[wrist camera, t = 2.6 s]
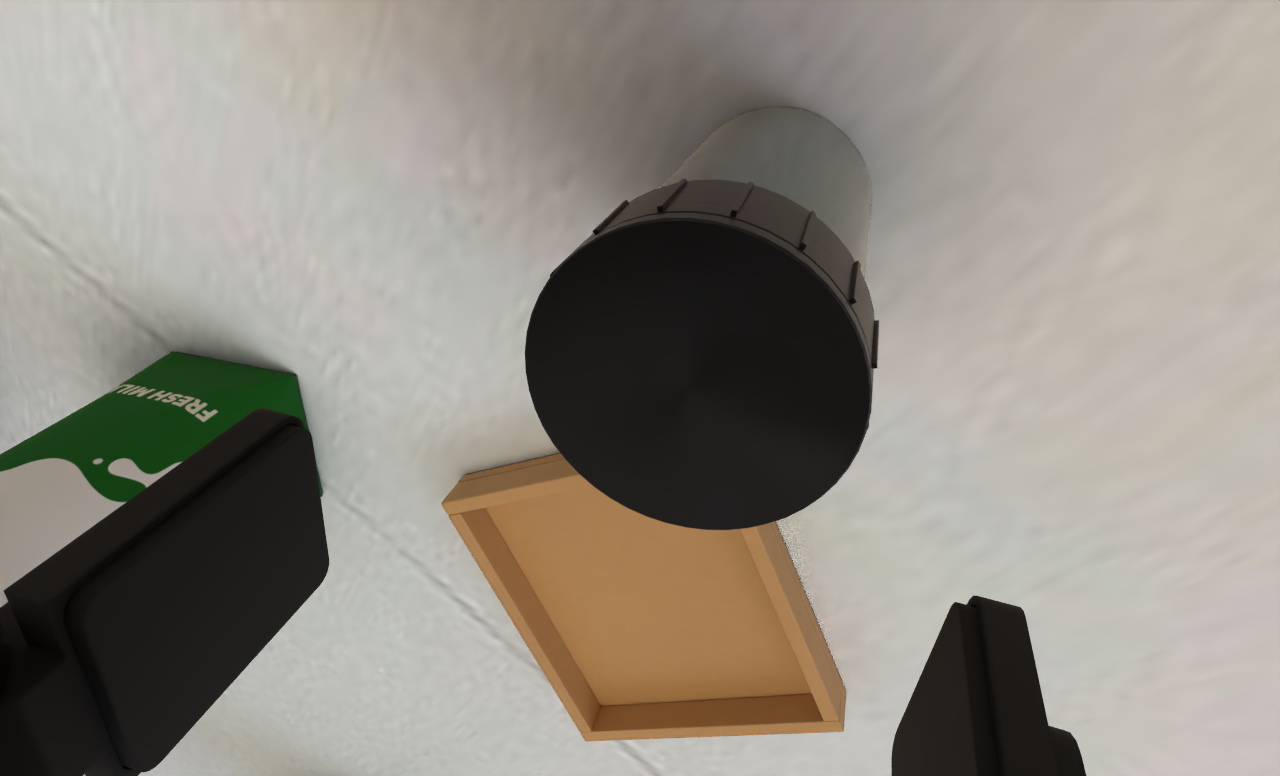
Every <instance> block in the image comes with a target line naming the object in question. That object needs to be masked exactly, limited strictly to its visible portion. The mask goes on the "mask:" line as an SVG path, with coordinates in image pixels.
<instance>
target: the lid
mask: <svg viewBox="0 0 1280 776" xmlns="http://www.w3.org/2000/svg"><path fill="white" fill-rule="evenodd" d="M860 267H861V264H860V262H859V260H858V261H856V262H855V260H854V258H853V256H852V255H851V253H850V252H849V250H848V249H847V248H846V247H845V245H844V244H843V243H842V241H841V240H840V239H839V238H838V236H837V235H836V234H835V233H834V232H833V231H832V230H831V229H830V228H829V227H828V226H827V225H826V224H825V223H824V222H823V221H821V220H820V219H819V218H818V217H816V213H815V212H814V211H813V210H812V211H811V212H809V211H808V210H807V209H805V208H804V207H803V206H801V205H799V204H797V203H795V202H794V201H792V200H790V199H788V198H786V197H785V196H783V195H780V194H778V193H775V192H772V191H770V190H767V189H765V188H762V187H758V186H754V182H750V181H749V182H748V184H746V183H742V182H736V181H727V180H719V179H716V180H692V181H687V179H686V178H685V179H681V180H680V181H679V182H678V183H674V184H671V185H667V186H664V187H661V188H657V189H655V190H652V191H650V192H648V193H646V194H644V195H641V196H639V197H637V198H636V199H634V200H632V201H631V202H628V201H627V200H625V201H624V202H623V203H622V204H621V205H619V206H618V207H617V208H616V209H615V210H614V211H613V212H612V213H611V214H610V215H609V216H608V217H607V218H606V219H605V220H604V221H603V222H602V223H601V224H599V225H598V226H597V227H596V228H595V229H594V230H593V234H592V235H591V236H590V237H589V238H588V239H587V240H586V241H584V242H583V243H582V244H581V245H580V246H579V247H578V248H577V249H576V250H575V251H574V252H573V253H572V254H571V255H570V256H569V257H567V258H566V259H565V260H564V261H563V262H562V263H561V264H560V265H559V266H558V267H557V268H556V269H555V270H554V271H553V272H552V273H551V275H550V278H549V280H548V281H547V283H546V285H545V286H544V288H543V290H542V291H541V293H540V295H539V297H538V299H537V301H536V304H535V306H534V309H533V311H532V314H531V318H530V322H529V326H528V330H527V336H526V346H525V364H526V375H527V381H528V386H529V391H530V395H531V398H532V401H533V404H534V407H535V410H536V412H537V414H538V417H539V419H540V421H541V423H542V425H543V427H544V429H545V431H546V432H547V434H548V436H549V437H550V439H551V441H552V442H553V444H554V445H555V447H556V448H557V449H558V451H559V452H560V453H561V454H562V456H563V457H564V458H565V460H566V461H567V462H568V463H569V464H570V465H571V466H572V467H573V468H574V469H575V470H576V471H577V472H578V473H579V474H580V475H581V476H582V477H583V478H584V479H585V480H587V481H588V482H589V483H590V484H591V485H592V486H594V487H595V488H596V489H598V490H599V491H601V492H602V493H603V494H605V495H606V496H608V497H609V498H611V499H612V500H614V501H616V502H618V503H619V504H621V505H623V506H625V507H626V508H628V509H630V510H633V511H635V512H637V513H639V514H642V515H644V516H646V517H649V518H652V519H655V520H658V521H661V522H664V523H668V524H672V525H677V526H681V527H686V528H694V529H702V530H735V529H745V528H751V527H756V526H760V525H765V524H769V523H771V522H774V521H777V520H780V519H783V518H786V517H788V516H790V515H792V514H794V513H796V512H798V511H800V510H802V509H804V508H806V507H807V506H809V505H810V504H811V503H813V502H814V501H816V500H817V499H819V498H820V497H822V496H823V495H824V494H825V493H826V492H827V491H828V490H829V489H830V488H831V487H833V486H834V485H835V484H836V483H837V482H838V480H839V479H840V478H841V477H842V475H843V474H844V473H845V472H846V471H847V469H848V468H849V467H850V465H851V463H852V462H853V460H854V458H855V456H856V455H857V453H858V451H859V449H860V447H861V444H862V442H863V439H864V437H865V434H866V431H867V429H868V427H869V418H870V414H871V403H872V387H873V368H877V360H878V337H879V320H876V321H875V320H874V310H873V306H872V301H871V297H870V293H869V290H868V287H867V285H866V282H865V280H864V277H863V275H862V272H861V270H860Z"/></svg>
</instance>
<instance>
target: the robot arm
mask: <svg viewBox="0 0 1280 776" xmlns="http://www.w3.org/2000/svg"><path fill="white" fill-rule="evenodd" d="M328 567H329V556H328V549H327V541H326V534H325V527H324V520H323V513H322V506H321V499H320V492H319V484H318V477H317V470H316V463H315V456H314V449H313V442H312V436H311V433H310V432H309V431H308V430H306V429H305V427H304V424H303V422H302V421H301V419H300V418H298V417H296V416H292V415H288V414H285V413H281V412H277V411H273V410H269V409H266V408H260V409H257V410H255V411H253V412H251V413H250V414H248V415H247V416H245V417H244V418H243V419H241V420H240V421H239V422H237V423H236V424H234V425H233V426H232V427H230V428H229V429H227V430H226V431H225V432H223V433H222V434H220V435H219V436H218V437H216V438H215V439H214V440H212V441H211V442H209V443H208V444H207V445H205V446H204V447H202V448H201V449H200V450H198V451H197V452H195V453H194V454H193V455H191V456H190V457H188V458H187V459H186V460H184V461H183V462H182V463H180V464H179V465H177V466H176V467H175V468H173V469H172V470H170V471H169V472H168V473H166V474H165V475H163V476H162V477H161V478H159V479H158V480H157V481H155V482H154V483H152V484H151V485H150V486H148V487H147V488H145V489H144V490H143V491H141V492H140V493H138V494H137V495H136V496H134V497H133V498H131V499H130V500H129V501H127V502H126V503H125V504H123V505H122V506H120V507H119V508H118V509H116V510H115V511H113V512H112V513H111V514H109V515H108V516H106V517H105V518H104V519H102V520H101V521H99V522H98V523H97V524H95V525H94V526H93V527H91V528H90V529H88V530H87V531H86V532H84V533H83V534H81V535H80V536H79V537H77V538H76V539H74V540H73V541H72V542H70V543H69V544H68V545H66V546H65V547H63V548H62V549H61V550H59V551H58V552H56V553H55V554H54V555H52V556H51V557H49V558H48V559H47V560H45V561H44V562H42V563H41V564H40V565H38V566H37V567H36V568H34V569H33V570H31V571H30V572H29V573H27V574H26V575H24V576H23V577H22V578H20V579H19V580H17V581H16V582H15V583H13V584H12V585H11V586H9V587H8V588H6V589H5V590H4V593H5V596H6V598H7V600H8V602H7V603H6V604H4V605H3V606H2V607H0V776H83V775H84V774H85V775H86V776H138V775H139V774H140V773H141V772H147V771H150V770H151V769H153V768H154V767H156V766H157V765H158V764H159V763H160V762H161V761H162V760H163V759H164V758H165V757H166V756H167V755H168V753H169V752H170V751H171V750H172V749H173V748H174V747H175V746H176V745H177V743H178V742H179V741H180V740H181V739H182V738H183V737H184V736H185V735H186V733H187V732H188V731H189V730H190V729H191V728H192V727H193V726H194V725H195V723H196V722H197V721H198V720H199V719H200V718H201V717H202V716H203V715H204V713H205V712H206V711H207V710H208V709H209V708H210V707H211V706H212V705H213V703H214V702H215V701H216V700H217V699H218V698H219V697H220V696H221V695H222V693H223V692H224V691H225V690H226V689H227V688H228V687H229V686H230V685H231V683H232V682H233V681H234V680H235V679H236V678H237V677H238V676H239V675H240V673H241V672H242V671H243V670H244V669H245V668H246V667H247V666H248V665H249V663H250V662H251V661H252V660H253V659H254V658H255V657H256V656H257V655H258V653H259V652H260V651H261V650H262V649H263V648H264V647H265V646H266V645H267V643H268V642H269V641H270V640H271V639H272V638H273V637H274V636H275V635H276V633H277V632H278V631H279V630H280V629H281V628H282V627H283V626H284V625H285V623H286V622H287V621H288V620H289V619H290V618H291V617H292V616H293V614H294V613H295V612H296V611H297V610H298V609H299V608H300V607H301V606H302V604H303V603H304V602H305V601H306V600H307V599H308V598H309V597H310V596H311V594H312V593H313V592H314V591H315V590H316V589H317V588H318V587H319V586H320V584H321V583H322V582H323V580H324V578H325V576H326V574H327V571H328ZM892 776H1086V773H1085V769H1084V765H1083V761H1082V757H1081V753H1080V750H1079V747H1078V744H1077V742H1076V740H1075V738H1074V737H1073V736H1072V734H1071V733H1070V732H1067V731H1064V730H1061V729H1058V728H1054V727H1051V726H1048V722H1047V717H1046V712H1045V708H1044V703H1043V698H1042V693H1041V688H1040V684H1039V679H1038V674H1037V669H1036V665H1035V660H1034V655H1033V650H1032V646H1031V641H1030V636H1029V631H1028V627H1027V622H1026V617H1025V614H1024V611H1023V610H1022V609H1021V608H1020V607H1017V606H1013V605H1010V604H1006V603H1002V602H998V601H994V600H991V599H987V598H983V597H979V596H973V597H972V598H971V599H970V600H969V602H968V603H967V605H965V604H961V603H957V602H955V603H954V604H953V605H952V606H951V608H950V610H949V613H948V615H947V617H946V619H945V622H944V624H943V626H942V628H941V631H940V633H939V635H938V638H937V640H936V642H935V644H934V647H933V649H932V651H931V654H930V656H929V658H928V660H927V663H926V665H925V667H924V670H923V672H922V674H921V676H920V679H919V681H918V683H917V685H916V688H915V690H914V692H913V695H912V697H911V699H910V701H909V704H908V706H907V708H906V711H905V713H904V715H903V717H902V720H901V722H900V724H899V727H898V729H897V732H896V734H895V738H894V743H893V749H892Z"/></svg>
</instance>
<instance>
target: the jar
mask: <svg viewBox="0 0 1280 776" xmlns="http://www.w3.org/2000/svg"><path fill="white" fill-rule="evenodd" d="M685 178H686V179H687V181H692V180H716V179H719V180H727V181H736V182H742V183H746V184H748V182H749V181H750V182H754V186H758V187H762V188H765V189H767V190H770V191H772V192H775V193H778V194H780V195H783V196H785V197H786V198H788V199H790V200H792V201H794V202H795V203H797V204H799V205H801V206H803V207H804V208H805V209H807V210H808V211H809V212H811V211H812V210H813V211H814V212H815V213H816V217H818V218H819V219H820V220H821V221H823V222H824V223H825V224H826V225H827V226H828V227H829V228H830V229H831V230H832V231H833V232H834V233H835V234H836V235H837V236H838V238H839V239H840V240H841V241H842V243H843V244H844V245H845V247H846V248H847V249H848V250H849V252H850V253H851V255H852V256H853V258H854V260H855V262H856V261H858V260H859V262H860V264H861V267H860V270H861V272H862V275H863V277H864V280H865V270H866V259H867V248H868V237H869V226H870V215H871V201H872V195H871V184H870V180H869V175H868V171H867V169H866V166H865V163H864V161H863V159H862V157H861V155H860V153H859V152H858V150H857V148H856V147H855V146H854V144H853V143H852V142H851V140H850V139H849V138H848V137H847V136H846V135H845V134H844V133H843V132H842V131H841V130H840V129H839V128H837V127H836V126H835V125H833V124H832V123H831V122H829V121H827V120H826V119H824V118H822V117H820V116H818V115H816V114H813V113H811V112H808V111H805V110H800V109H796V108H789V107H766V108H761V109H755V110H752V111H749V112H746V113H743V114H741V115H738V116H736V117H734V118H732V119H730V120H729V121H727V122H726V123H724V124H723V125H721V126H720V127H719V128H718V129H716V130H715V131H714V132H713V133H712V134H711V135H710V136H709V137H708V138H707V139H706V140H705V141H704V142H703V143H702V144H701V145H700V146H699V147H698V148H697V149H696V150H695V151H694V152H693V153H692V154H691V155H690V156H689V158H688V159H687V160H686V161H685V162H684V163H683V164H682V165H681V166H680V167H679V168H678V169H677V170H676V171H675V172H674V173H673V174H672V175H671V176H670V177H669V178H668V179H667V180H666V181H665V182H664V183H663V184H662V186H661V187H664V186H667V185H671V184H674V183H678V182H679V181H680V180H681V179H685ZM661 187H660V188H661Z"/></svg>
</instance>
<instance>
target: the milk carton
mask: <svg viewBox="0 0 1280 776" xmlns="http://www.w3.org/2000/svg"><path fill="white" fill-rule="evenodd" d="M260 408H266V409H269V410H273V411H277V412H281V413H285V414H288V415H292V416H296V417H298V418H300V419H301V421H302V422H303V424H304V427H305V429H306V430H308V428H307V423H306V419H305V414H304V410H303V405H302V401H301V396H300V392H299V387H298V383H297V378H296V375H295V374H289V373H283V372H278V371H273V370H268V369H262V368H257V367H252V366H247V365H241V364H236V363H231V362H226V361H220V360H215V359H210V358H204V357H199V356H194V355H188V354H183V353H178V352H173V351H172V352H170V353H169V354H167V355H166V356H164V357H163V358H161V359H159V360H158V361H156V362H155V363H153V364H152V365H150V366H149V367H147V368H145V369H144V370H142V371H141V372H139V373H138V374H136V375H135V376H133V377H132V378H130V379H128V380H127V381H125V382H124V383H122V384H121V385H119V386H118V387H116V388H114V389H113V390H111V391H110V392H108V393H107V394H105V395H104V396H102V397H100V398H99V399H97V400H95V401H93V402H92V403H90V404H88V405H86V406H85V407H83V408H81V409H79V410H78V411H76V412H74V413H72V414H71V415H69V416H67V417H65V418H64V419H62V420H60V421H58V422H57V423H55V424H53V425H51V426H50V427H48V428H46V429H44V430H43V431H41V432H39V433H37V434H36V435H34V436H32V437H30V438H29V439H27V440H25V441H23V442H22V443H20V444H18V445H16V446H15V447H13V448H11V449H9V450H8V451H6V452H4V453H2V454H1V455H0V607H2V606H3V605H4V604H6V603H7V602H8V600H7V598H6V596H5V593H4V590H5V589H6V588H8V587H9V586H11V585H12V584H13V583H15V582H16V581H17V580H19V579H20V578H22V577H23V576H24V575H26V574H27V573H29V572H30V571H31V570H33V569H34V568H36V567H37V566H38V565H40V564H41V563H42V562H44V561H45V560H47V559H48V558H49V557H51V556H52V555H54V554H55V553H56V552H58V551H59V550H61V549H62V548H63V547H65V546H66V545H68V544H69V543H70V542H72V541H73V540H74V539H76V538H77V537H79V536H80V535H81V534H83V533H84V532H86V531H87V530H88V529H90V528H91V527H93V526H94V525H95V524H97V523H98V522H99V521H101V520H102V519H104V518H105V517H106V516H108V515H109V514H111V513H112V512H113V511H115V510H116V509H118V508H119V507H120V506H122V505H123V504H125V503H126V502H127V501H129V500H130V499H131V498H133V497H134V496H136V495H137V494H138V493H140V492H141V491H143V490H144V489H145V488H147V487H148V486H150V485H151V484H152V483H154V482H155V481H157V480H158V479H159V478H161V477H162V476H163V475H165V474H166V473H168V472H169V471H170V470H172V469H173V468H175V467H176V466H177V465H179V464H180V463H182V462H183V461H184V460H186V459H187V458H188V457H190V456H191V455H193V454H194V453H195V452H197V451H198V450H200V449H201V448H202V447H204V446H205V445H207V444H208V443H209V442H211V441H212V440H214V439H215V438H216V437H218V436H219V435H220V434H222V433H223V432H225V431H226V430H227V429H229V428H230V427H232V426H233V425H234V424H236V423H237V422H239V421H240V420H241V419H243V418H244V417H245V416H247V415H248V414H250V413H251V412H253V411H255V410H257V409H260ZM316 470H317V468H316ZM317 477H318V472H317ZM318 484H319V492H320V497H321V496H322V490H321V486H320V481H319V477H318Z"/></svg>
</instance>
